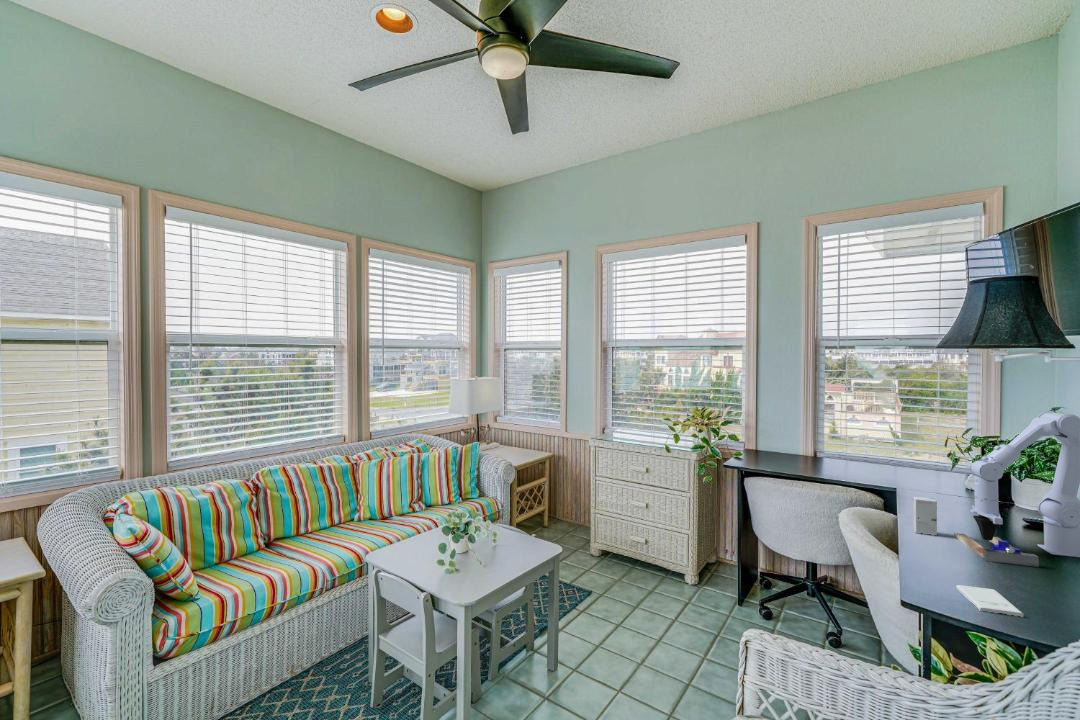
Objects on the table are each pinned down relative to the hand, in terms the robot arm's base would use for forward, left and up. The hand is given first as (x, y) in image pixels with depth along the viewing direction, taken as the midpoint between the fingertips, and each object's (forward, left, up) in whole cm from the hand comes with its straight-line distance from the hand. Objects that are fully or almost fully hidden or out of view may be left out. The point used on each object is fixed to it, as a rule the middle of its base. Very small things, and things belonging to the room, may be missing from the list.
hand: (987, 539), depth 155 cm
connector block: (0, +14, -2) cm, 14 cm away
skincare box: (+14, -8, -2) cm, 16 cm away
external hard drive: (+18, +46, -3) cm, 49 cm away
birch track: (0, +3, -2) cm, 4 cm away
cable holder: (-1, +9, -3) cm, 9 cm away
